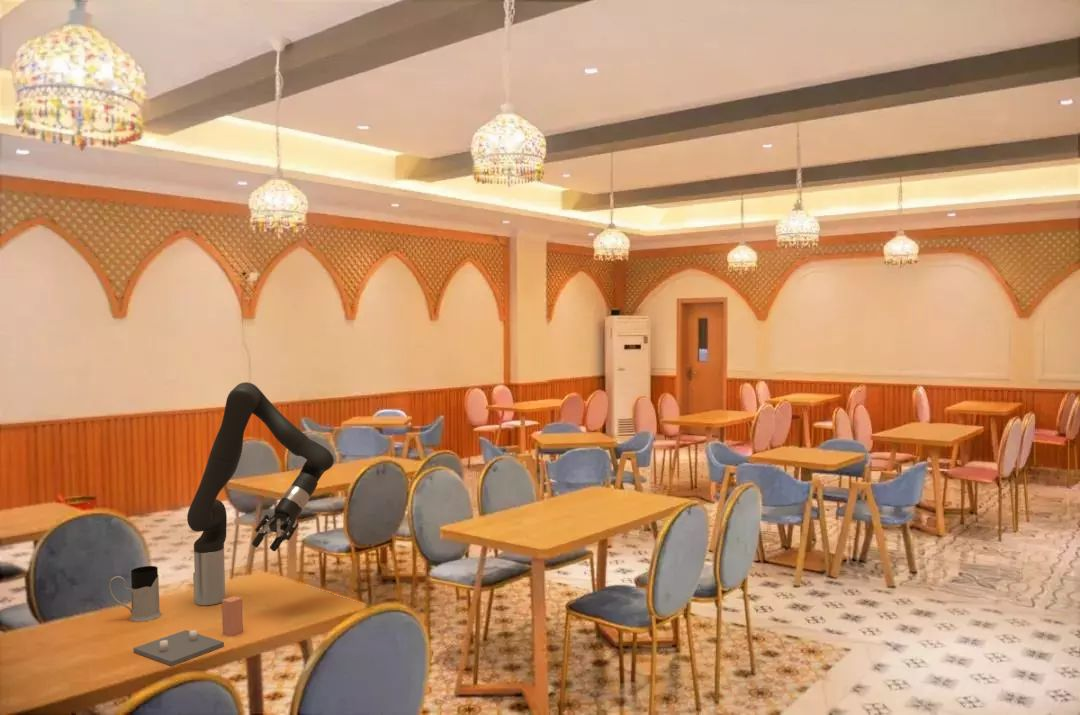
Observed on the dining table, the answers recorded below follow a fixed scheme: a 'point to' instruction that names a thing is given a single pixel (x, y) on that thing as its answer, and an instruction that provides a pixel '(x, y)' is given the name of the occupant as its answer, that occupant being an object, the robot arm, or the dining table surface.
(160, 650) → the base plate
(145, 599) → the glass holder
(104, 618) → the dining table surface
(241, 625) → the block
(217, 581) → the robot arm
